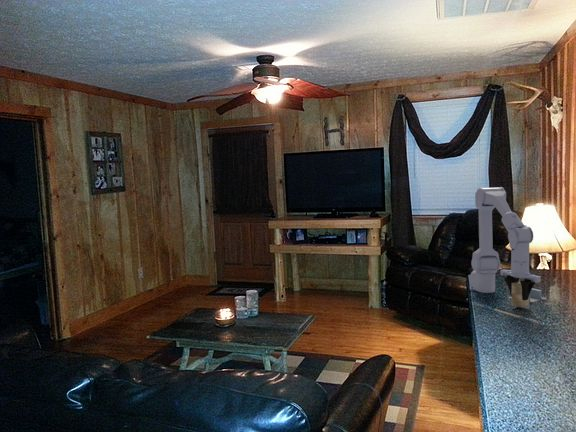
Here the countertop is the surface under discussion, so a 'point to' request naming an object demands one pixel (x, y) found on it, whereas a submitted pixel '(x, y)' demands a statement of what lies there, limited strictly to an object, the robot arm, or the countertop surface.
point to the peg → (518, 296)
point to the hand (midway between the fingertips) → (519, 298)
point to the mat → (509, 313)
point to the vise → (535, 295)
